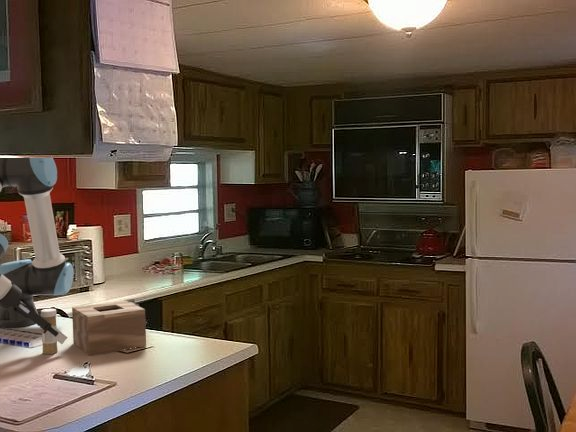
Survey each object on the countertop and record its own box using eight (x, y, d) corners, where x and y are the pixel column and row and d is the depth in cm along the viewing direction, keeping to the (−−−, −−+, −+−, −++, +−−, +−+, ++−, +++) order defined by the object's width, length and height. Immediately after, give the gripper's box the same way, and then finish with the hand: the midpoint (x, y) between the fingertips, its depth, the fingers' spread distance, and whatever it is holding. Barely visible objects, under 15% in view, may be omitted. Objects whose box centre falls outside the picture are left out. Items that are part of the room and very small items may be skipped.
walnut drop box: (73, 343, 224) (72, 307, 223) (127, 335, 233) (125, 300, 232) (89, 355, 208) (88, 316, 208) (146, 346, 218) (145, 309, 217)
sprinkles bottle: (44, 350, 215) (42, 308, 214) (59, 350, 215) (57, 307, 214) (40, 354, 210) (38, 311, 209) (56, 354, 211) (54, 310, 210)
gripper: (-12, 297, 212) (45, 341, 221) (0, 307, 195) (61, 355, 205) (6, 278, 214) (62, 323, 224) (19, 287, 198) (78, 334, 208)
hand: (61, 338), depth 215 cm, fingers open, 6 cm apart
